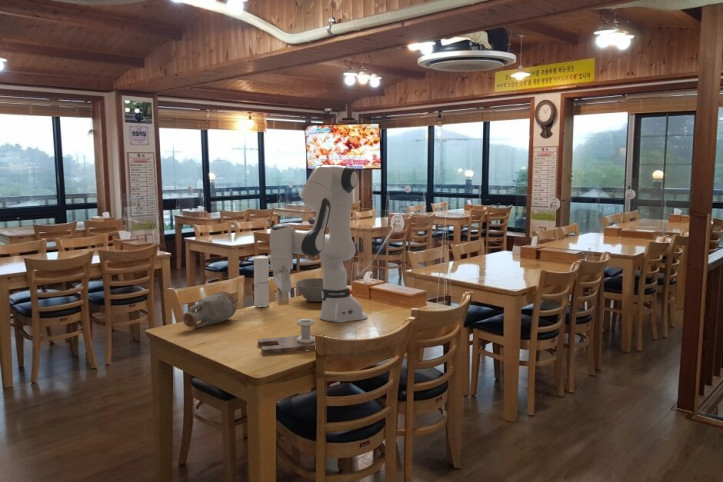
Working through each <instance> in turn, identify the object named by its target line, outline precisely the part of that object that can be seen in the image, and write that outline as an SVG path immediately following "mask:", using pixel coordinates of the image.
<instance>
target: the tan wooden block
mask: <svg viewBox="0 0 723 482" xmlns="http://www.w3.org/2000/svg"><path fill="white" fill-rule="evenodd" d="M281 296H282V292H281V290H280V289H279V288H278V287H276V304H277V305H278V306H289V303H290V302H289V301H290V300H289V298H290V297H289V296H290V295H289V292H287V296H286V301H282V299H281Z"/></svg>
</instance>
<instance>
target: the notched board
mask: <svg viewBox="0 0 723 482" xmlns="http://www.w3.org/2000/svg"><path fill="white" fill-rule="evenodd" d="M315 335H316V334H310V336H313V337H314V336H315ZM299 336H300V335H292V336H281V337H279V336H278V337H268V338H266V337H265V338H258V339H257V345H258V348H260V350H261V351H260V352H261V354H262V355H263V356H265V355H279V354H290V353H289V352H292V353H298V352H297V351H304V352H307V351H306V350H315V341H314V342H312V343H299V342H297V337H299Z"/></svg>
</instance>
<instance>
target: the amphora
mask: <svg viewBox="0 0 723 482" xmlns="http://www.w3.org/2000/svg"><path fill="white" fill-rule="evenodd" d="M238 301H239V299H238V298H236V297H234V295H232V293H229V292H228V291H223V290H220V291H217V292H215V293H212V294H210V295H208V296H205V297H204V298H202V299H200V300H199V301H198V303H196V304H194V305H191V306H190V307H189V309H188V311H187V312H185V313H184V314H183V315H182V321H183V324H184V325H185V326H186V327H187V328H194V329H197V328H202V327H204V326H212V325H215V324H218V323H222V322H224V321H227V320H229V319H230V318H232V317H233V316H234V315H235V314H236V311H237V308H238ZM195 310H196V311H195Z"/></svg>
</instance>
